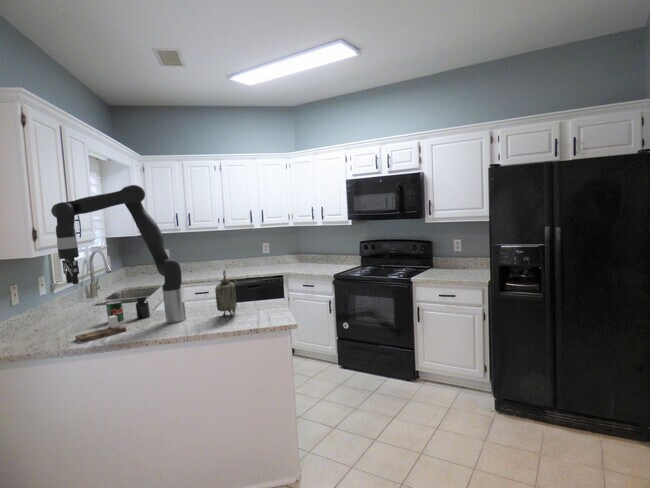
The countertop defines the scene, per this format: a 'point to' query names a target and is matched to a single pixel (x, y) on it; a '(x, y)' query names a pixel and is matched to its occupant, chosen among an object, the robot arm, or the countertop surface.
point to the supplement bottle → (142, 308)
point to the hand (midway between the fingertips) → (72, 283)
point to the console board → (99, 334)
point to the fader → (113, 322)
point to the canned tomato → (115, 310)
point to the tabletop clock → (226, 296)
